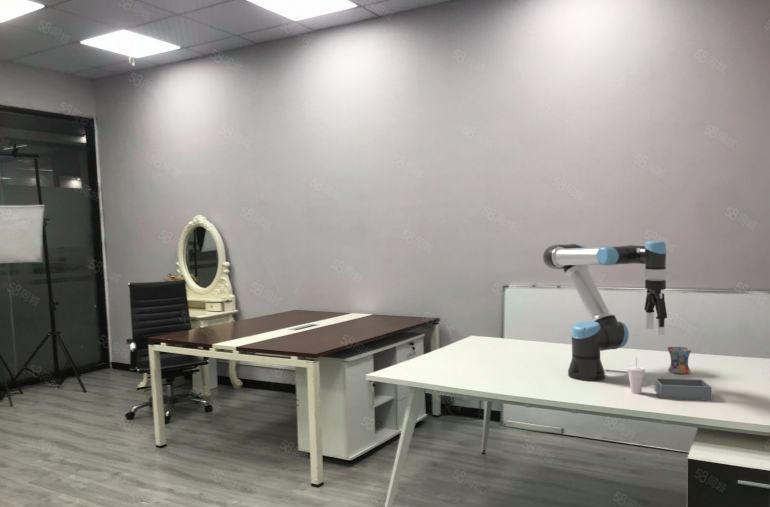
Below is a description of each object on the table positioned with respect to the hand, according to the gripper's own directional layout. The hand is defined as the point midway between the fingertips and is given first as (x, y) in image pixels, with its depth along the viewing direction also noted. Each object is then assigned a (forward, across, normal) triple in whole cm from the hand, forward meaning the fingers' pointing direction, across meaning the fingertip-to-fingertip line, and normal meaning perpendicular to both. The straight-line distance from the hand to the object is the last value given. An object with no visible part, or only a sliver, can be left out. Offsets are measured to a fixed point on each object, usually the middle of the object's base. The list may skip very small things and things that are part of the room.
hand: (655, 331), depth 225 cm
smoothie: (+22, -10, +10) cm, 26 cm away
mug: (+23, +23, -18) cm, 37 cm away
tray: (+22, -12, -6) cm, 26 cm away
